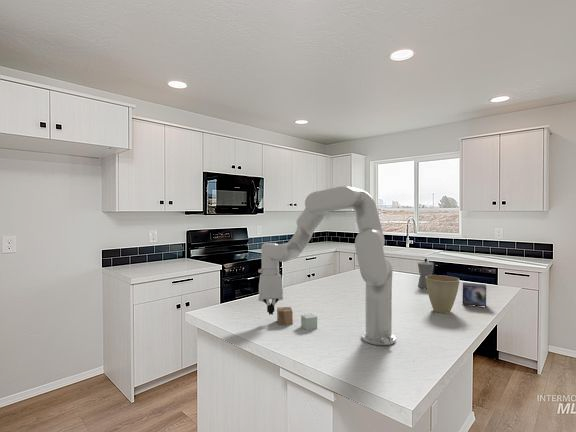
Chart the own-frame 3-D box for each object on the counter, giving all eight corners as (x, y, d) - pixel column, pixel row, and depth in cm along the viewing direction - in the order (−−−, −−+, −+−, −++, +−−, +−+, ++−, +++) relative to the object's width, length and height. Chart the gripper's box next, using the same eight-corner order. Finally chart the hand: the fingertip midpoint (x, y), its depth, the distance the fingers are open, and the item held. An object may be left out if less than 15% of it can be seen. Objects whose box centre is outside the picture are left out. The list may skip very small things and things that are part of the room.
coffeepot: (424, 290, 201) (424, 260, 201) (412, 286, 209) (412, 258, 209) (441, 287, 208) (441, 258, 208) (429, 284, 216) (429, 256, 216)
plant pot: (448, 318, 150) (448, 282, 149) (419, 309, 162) (419, 277, 162) (465, 312, 158) (466, 278, 157) (436, 304, 170) (436, 273, 170)
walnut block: (278, 325, 142) (292, 324, 143) (278, 311, 142) (292, 310, 143) (276, 320, 148) (290, 320, 149) (276, 307, 148) (290, 306, 148)
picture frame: (462, 305, 169) (462, 284, 169) (462, 302, 175) (462, 282, 175) (486, 308, 164) (486, 287, 164) (485, 304, 170) (485, 284, 170)
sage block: (317, 328, 138) (317, 316, 137) (306, 330, 136) (306, 318, 135) (311, 325, 142) (311, 313, 142) (301, 326, 140) (301, 315, 140)
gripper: (253, 274, 139) (254, 317, 139) (288, 272, 141) (289, 315, 142) (252, 270, 146) (253, 312, 147) (285, 269, 149) (286, 310, 149)
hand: (270, 313), depth 144 cm, fingers closed
